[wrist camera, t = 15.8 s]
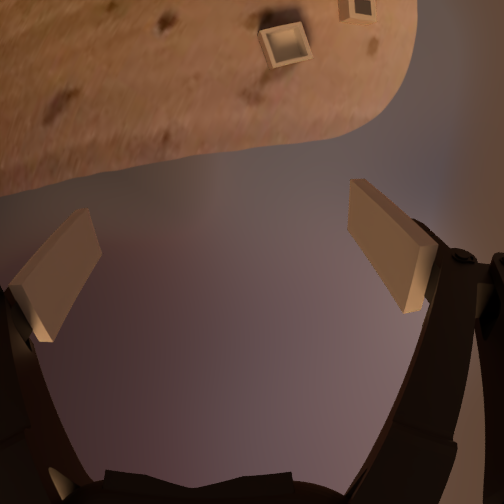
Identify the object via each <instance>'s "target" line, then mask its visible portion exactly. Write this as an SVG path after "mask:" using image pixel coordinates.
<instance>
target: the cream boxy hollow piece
mask: <svg viewBox="0 0 504 504" xmlns="http://www.w3.org/2000/svg"><path fill="white" fill-rule="evenodd" d="M338 4H339V18H340V22H342V23H350V24H357V25H364V26H366V25H369V24H372V23H376V22H377V13H376V1H375V0H338Z"/></svg>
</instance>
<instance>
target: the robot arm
mask: <svg viewBox="0 0 504 504" xmlns="http://www.w3.org/2000/svg"><path fill="white" fill-rule="evenodd" d="M347 229H348V231H349V233H350V234H351V235H352V237H353V238H354V239H355V241H356V242H357V244H358V245H359V247H360V248H361V250H362V251H363V253H364V254H365V256H366V257H367V258H368V260H369V261H370V263H371V264H372V266H373V267H374V269H375V270H376V272H377V273H378V275H379V276H380V278H381V279H382V281H383V282H384V284H385V285H386V287H387V289H388V290H389V291H390V293H391V295H392V296H393V298H394V300H395V301H396V303H397V304H398V306H399V308H400V309H401V311H402V312H403V314H404V313H409V312H414V311H418V310H421V307H422V304H423V301H424V297H425V298H426V299H427V300H428V302H429V303H430V305H429V308H428V311H427V313H426V317H425V319H424V322H423V325H422V330H421V333H420V337H419V339H418V343H417V345H416V348H415V352H414V354H413V357H412V360H411V362H410V365H409V368H408V371H407V373H406V376H405V378H404V381H403V383H402V385H401V388H400V390H399V393H398V395H397V398H396V400H395V402H394V404H393V407H392V409H391V411H390V413H389V416H388V418H387V420H386V422H385V424H384V426H383V428H382V430H381V432H380V434H379V437H378V438H377V440H376V442H375V444H374V446H373V448H372V450H371V452H370V454H369V455H368V457H367V459H366V461H365V463H364V464H363V466H362V468H361V469H360V471H359V473H358V474H357V476H356V477H355V479H354V481H353V482H352V484H351V485H350V487H349V488H348V490H347V492H346V493H345V495H342V494H340V493H338V492H336V491H334V490H331V489H329V488H327V487H324V486H320V485H317V484H313V483H307V482H300V481H293V479H292V473H291V472H285V473H277V474H269V475H268V474H267V475H256V476H242V477H239V478H235V479H232V480H228V481H224V482H220V483H216V484H212V485H207V486H203V487H199V488H187V487H184V486H180V485H176V484H173V483H169V482H166V481H163V480H160V479H156V478H153V477H150V476H148V475H143V474H132V473H125V472H118V471H111V470H106V471H105V476H104V480H100V481H95V482H94V481H93V480H92V479H91V478H90V477H89V476H88V474H87V473H86V472H85V470H84V468H83V466H82V464H81V463H80V461H79V459H78V457H77V455H76V453H75V451H74V449H73V447H72V445H71V443H70V441H69V438H68V436H67V434H66V432H65V430H64V428H63V425H62V423H61V421H60V418H59V416H58V414H57V411H56V409H55V407H54V404H53V401H52V399H51V396H50V393H49V391H48V388H47V385H46V382H45V380H44V377H43V374H42V371H41V368H40V365H39V361H38V358H37V355H36V352H35V348H34V344H33V343H32V341H31V339H30V338H29V336H30V334H31V332H32V331H33V332H34V334H35V335H36V337H37V338H38V340H39V341H40V342H53V341H54V339H55V337H56V335H57V333H58V331H59V329H60V328H61V326H62V324H63V322H64V320H65V318H66V316H67V314H68V312H69V310H70V309H71V306H72V305H73V303H74V301H75V299H76V298H77V296H78V294H79V292H80V291H81V289H82V287H83V285H84V284H85V282H86V280H87V278H88V277H89V275H90V273H91V272H92V270H93V268H94V267H95V265H96V263H97V262H98V260H99V259H100V257H101V255H102V252H101V249H100V246H99V243H98V240H97V237H96V233H95V230H94V227H93V224H92V220H91V217H90V213H89V210H88V208H84V209H78V210H75V211H74V212H73V213H72V214H71V215H70V216H69V217H68V218H67V219H66V220H65V221H64V223H62V225H60V227H59V228H58V229H57V230H56V231H55V232H54V233H53V234H52V235H51V236H50V237H49V238H48V239H47V240H46V241H45V243H44V244H43V245H42V246H41V247H40V248H39V249H38V250H37V252H36V253H35V254H34V255H33V256H32V257H31V258H30V260H29V261H28V262H27V263H26V264H25V265H24V267H23V268H22V269H21V270H20V271H19V273H18V274H17V275H16V276H15V278H14V279H13V280H12V281H11V283H10V284H9V285H8V288H7V289H6V291H5V292H3V290H2V288H1V286H0V504H438V503H439V501H440V499H441V496H442V494H443V491H444V489H445V486H446V483H447V481H448V478H449V475H450V472H451V470H452V467H453V464H454V461H455V457H456V453H457V443H456V442H454V441H453V434H454V431H455V427H456V423H457V420H458V416H459V412H460V408H461V404H462V399H463V395H464V391H465V386H466V381H467V375H468V370H469V364H470V358H471V351H472V344H473V335H474V329H475V334H476V339H477V346H478V351H479V359H480V366H481V375H482V384H483V396H484V411H485V470H484V471H485V472H484V486H483V487H484V488H483V504H504V253H499V252H498V253H495V254H494V255H493V257H492V260H491V263H490V264H482V263H478V262H477V259H476V258H475V256H474V255H472V254H471V253H469V252H468V251H465V250H463V249H458V248H449V247H448V246H447V245H446V244H445V243H444V242H443V241H442V240H441V239H440V238H439V237H438V236H436V235H435V234H434V233H433V232H432V231H430V229H429V228H428V227H427V226H425V225H424V224H423V223H421V222H419V221H417V220H416V219H411V218H410V217H409V216H408V215H406V214H405V213H404V212H403V211H402V210H401V209H400V208H398V207H397V206H396V205H395V204H394V203H393V202H392V201H391V200H389V199H388V198H387V197H386V196H385V195H384V194H382V193H381V192H380V191H379V190H378V189H376V188H375V187H374V186H373V185H371V184H370V183H369V182H368V181H367V180H365V179H350V197H349V214H348V228H347Z"/></svg>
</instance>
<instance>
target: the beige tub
mask: <svg viewBox="0 0 504 504" xmlns="http://www.w3.org/2000/svg"><path fill="white" fill-rule="evenodd" d="M257 36H258V39H259V42H260V44H261V47H262V50H263V53H264V55H265V58H266V61H267V64H268V67H269V69H272V68H276V67H280V66H284V65H288V64H292V63H296V62H300V61H305V60H309V59H313V55H312V52H311V49H310V46H309V43H308V40H307V37H306V34H305V32H304V29H303V26H302V23H301V22H296V23H291V24H286V25H281V26H277V27H273V28H268V29H264V30H260V31H259V33H258V35H257Z"/></svg>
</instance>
